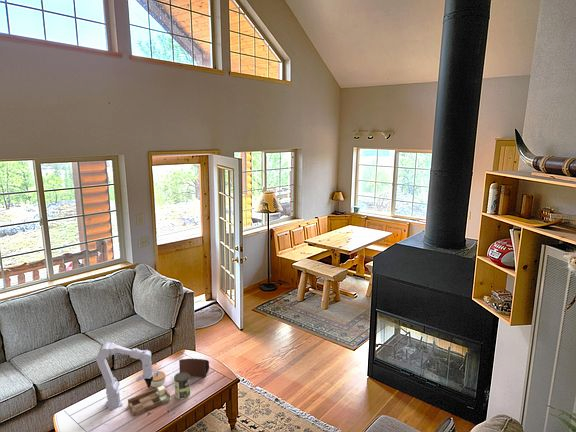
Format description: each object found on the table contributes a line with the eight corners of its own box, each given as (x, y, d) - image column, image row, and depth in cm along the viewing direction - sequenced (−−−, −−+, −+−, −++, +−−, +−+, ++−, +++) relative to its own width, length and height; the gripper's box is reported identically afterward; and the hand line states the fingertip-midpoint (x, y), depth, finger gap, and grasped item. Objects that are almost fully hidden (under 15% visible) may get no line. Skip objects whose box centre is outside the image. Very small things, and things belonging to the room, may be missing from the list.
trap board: (128, 405, 256) (127, 399, 255) (163, 391, 271) (163, 385, 270) (134, 415, 247) (133, 409, 246) (170, 400, 262) (169, 394, 261)
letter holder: (205, 377, 286) (205, 360, 283) (179, 376, 288) (178, 359, 284) (209, 369, 296) (208, 352, 293) (183, 368, 297) (183, 351, 294)
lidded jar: (163, 390, 272) (162, 378, 270) (147, 390, 272) (146, 378, 270) (167, 380, 282) (166, 369, 280) (152, 380, 282) (152, 369, 280)
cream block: (157, 392, 265) (157, 387, 264) (163, 390, 268) (163, 385, 267) (159, 395, 262) (159, 390, 261) (165, 393, 265) (165, 388, 264)
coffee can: (192, 390, 272) (192, 372, 268) (186, 400, 262) (185, 382, 259) (179, 388, 274) (178, 370, 270) (172, 398, 264) (171, 380, 261)
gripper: (138, 375, 249) (139, 394, 252) (160, 367, 258) (161, 385, 261) (134, 370, 254) (136, 388, 257) (156, 362, 263) (157, 380, 266)
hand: (148, 386), depth 259 cm, fingers closed
